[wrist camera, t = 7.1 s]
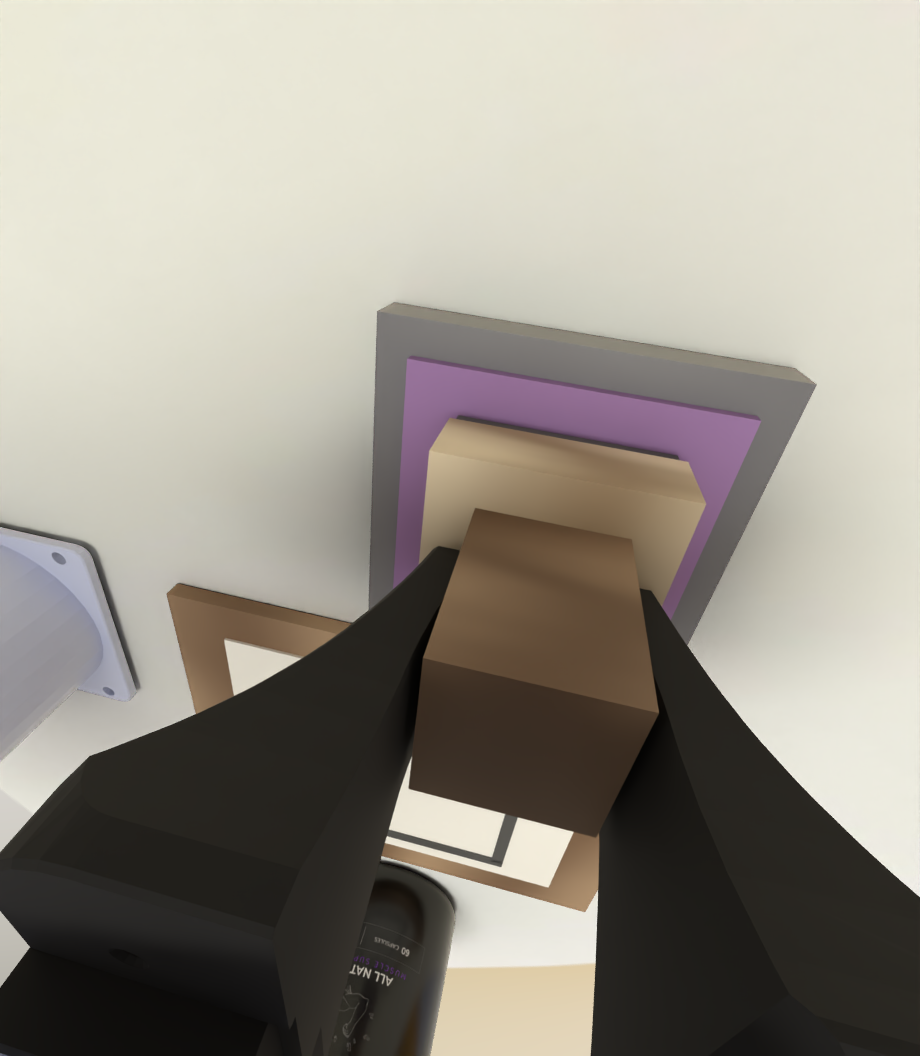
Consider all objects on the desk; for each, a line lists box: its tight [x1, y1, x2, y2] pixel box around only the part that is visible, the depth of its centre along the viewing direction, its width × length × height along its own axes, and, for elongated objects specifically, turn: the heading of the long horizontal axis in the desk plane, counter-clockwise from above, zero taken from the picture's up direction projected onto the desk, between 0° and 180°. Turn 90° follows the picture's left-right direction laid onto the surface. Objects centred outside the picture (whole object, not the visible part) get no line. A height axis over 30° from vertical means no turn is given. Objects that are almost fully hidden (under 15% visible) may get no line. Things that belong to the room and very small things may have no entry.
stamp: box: [408, 415, 706, 838], centre depth 10 cm, size 5×5×6 cm
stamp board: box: [167, 584, 599, 912], centre depth 21 cm, size 18×14×1 cm
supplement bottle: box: [328, 863, 455, 1056], centre depth 23 cm, size 7×7×12 cm
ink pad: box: [369, 303, 817, 645], centre depth 13 cm, size 9×9×2 cm
